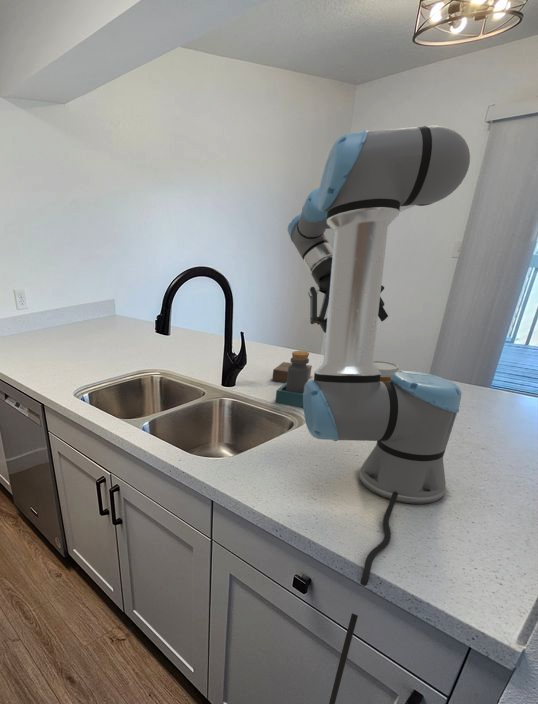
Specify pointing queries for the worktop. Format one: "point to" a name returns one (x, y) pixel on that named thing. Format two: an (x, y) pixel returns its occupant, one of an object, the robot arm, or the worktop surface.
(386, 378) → the disposable coffee cup
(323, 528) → the worktop surface
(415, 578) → the worktop surface
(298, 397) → the holder
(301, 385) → the bottle
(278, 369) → the stand
